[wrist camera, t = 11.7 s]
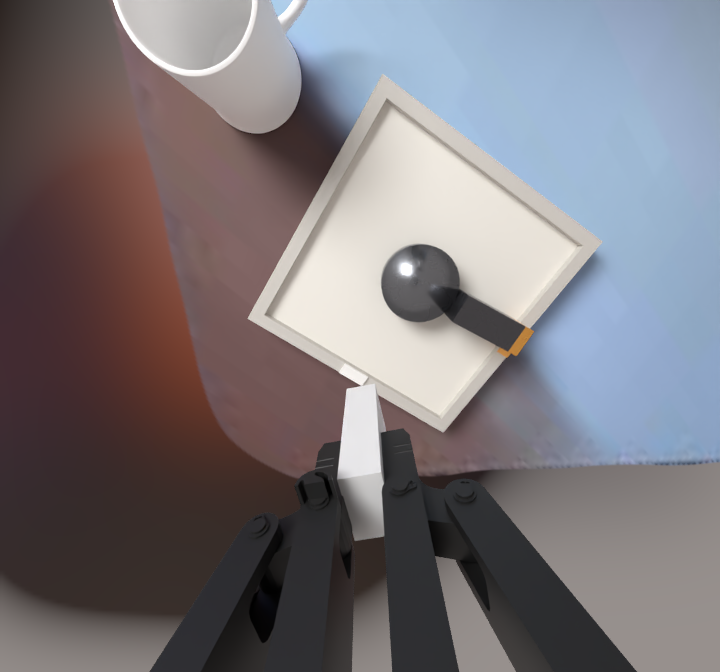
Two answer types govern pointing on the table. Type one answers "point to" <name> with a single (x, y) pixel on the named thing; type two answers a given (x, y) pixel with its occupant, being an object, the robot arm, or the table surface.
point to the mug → (223, 54)
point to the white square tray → (416, 226)
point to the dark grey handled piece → (444, 297)
